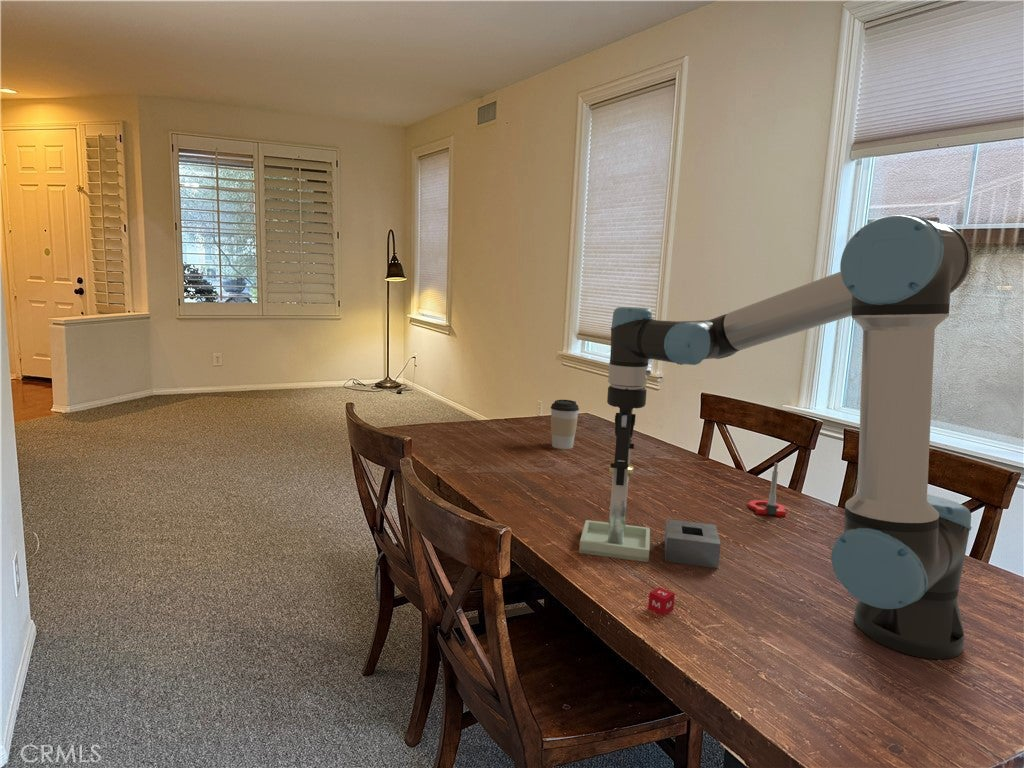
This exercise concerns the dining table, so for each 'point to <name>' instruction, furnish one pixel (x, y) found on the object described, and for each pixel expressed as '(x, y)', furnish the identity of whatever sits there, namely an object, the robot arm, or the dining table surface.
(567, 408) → the coffee cup
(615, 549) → the tray
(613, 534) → the pin
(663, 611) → the dice
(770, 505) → the tow hook
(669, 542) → the hitch block
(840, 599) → the dining table surface
